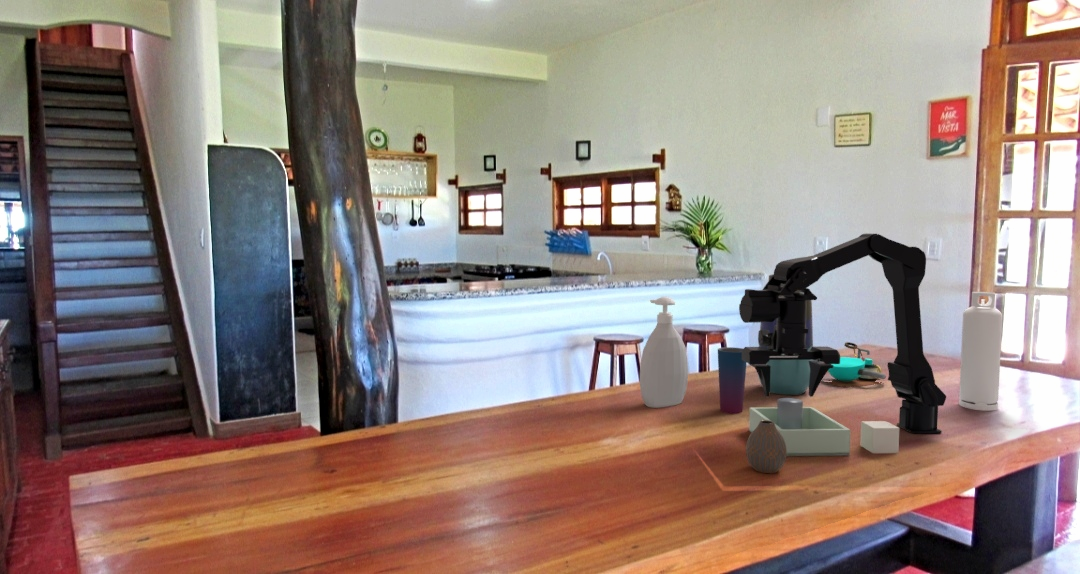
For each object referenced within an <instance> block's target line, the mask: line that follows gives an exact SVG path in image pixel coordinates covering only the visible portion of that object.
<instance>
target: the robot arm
mask: <svg viewBox="0 0 1080 574" xmlns="http://www.w3.org/2000/svg"><path fill="white" fill-rule="evenodd" d="M868 256H869V257H870V258H871V259H872V260H874V261H876V262H878V263H879V264H881V266H882V271H883V274H884V277H885V278H886V281H887V282H888V284H889V285H890V287H891V290H892V298H893V310H894V313H893V314H894V325H895V335H896V336H895V337H896V350H897V354H896V356H895V359H894V361H890V362H889V361H888V362H887V370H888V378H887V380H888V381H890V383H891V386H892V388H894V390H895V392H896V396H897V398H900V399H901V406H900V407H899V413H898V414H899V416H898V417H899V418H898V422H897V423H896V427H898V428H901V429H903V430H904V431H907V432H909V433H911V434H942V431H943V430H941V429H939V428H938V423H939V422H938V419H939V417H938V416H939V407H943V406H944V405H945V403H946V399H947V395H946V394H945V393H944V392H943V391H942V389H941V388H939V386H938V385H937V384H936V380H935V376H934V373H933V367H932V366H931V365H930V363H929V361H928V359H927V358H926V356H925V354H924V345H923V344H924V343H923V331H922V317H921V316H922V315H921V304H920V292H919V291H920V290H919V289H920V286H921V284H922V281H923V280H924V277H925V275H926V267H927V256H926V252H925V251H923V250H922V249H921V248H920V247H917V246H909V245H906V244H903V243H902V242H901V243H900V242H898V241H895V240H892V239H890V238H887V237H885V236H883V235H881V234H880V233H863V234H860V235H859V236H858V237H855V238H853V239H850V240H847V241H845V242H843V243H841V244H838V245H835V246H833V247H831V248H828V249H826V250H823V251H821V252H818V253H816V254H814V255H808V256H802V257H801V256H800V257H795V258H791V259H786V260H782V261H780V262H778V263H777V264H776V265H775V268H774V270H773V274H772V275H773V276H772V277H771V278H770V280H769V279H768V280H767V282H766V284H765V285H764V287H763V288H762V289H752V288H751V289H750V288H748V289H747V288H746V289H744V295H743V296H742V297H741V299H740V303H739V306H738V310H739V316H740V319H741V320H742V322H743V323H745V324H749V323H751V324H752V323H753V324H755V323H757V324H758V323H761V322H773V321H774V320H775V319H776V318H777V325H775V327H774V332H773V333H770V332H769V330H760V329H759V330H758V333H757V334H758V335H757V341H758V346H744V347H743V350H742V360H743V361H745V362H747V363H746V364H748V365H750V366H752V368H754V369H755V371H756V373H757V376H758V375H759V377H758V379H759V378H760V381H761V383H760V384H762V385H761V386H762V390H763V393H764V396H765V397H766V398H769V397H770V393H771V392H770V372H771V366H769V365H767V363H768V362H769V361H770V360H812V361H809V366H810V379H809V387H808V396H809V397H811V398H812V397H814V395H815V393H816V391H817V389H818V387H819V385H820V384H821V382H822V381H821V380H824V379H823V378H824V377H825V375H827V373H828V370H829V369H830V368H833V367H834V366H833V365H831V364H840V357H841V354H840V351H839V350H838V349H835V348H833V347H830V346H813V347H812V348H811V349H810V351H808V349H807V348H805V339H806V333H808V328H806V307H807V300H811V301H817V299H818V296H817V295H815V294H814V293H813V292H812V291H811V289H810V288H809V287H810V286H812V285H813V284H815V283H817V282H818V281H819V280H820V279H821V278H822V277H823V276H824V275H825V274H827V273H829V272H831V271H833V270H837V269H838V268H841V267H843V266H845V265H849V264H851V263H853V262H856V261H857V260H860V259H863V258H865V257H868ZM797 290H801V291H799V292H795V291H797ZM779 295H784V296H781V297H779ZM759 345H760V346H767V350H766V349H764V348H762V347H759ZM773 350H776V351H773ZM781 354H783V355H781ZM797 355H799V356H797ZM760 381H759V382H760Z"/></svg>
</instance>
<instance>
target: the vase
mask: <svg viewBox="0 0 1080 574" xmlns="http://www.w3.org/2000/svg"><path fill="white" fill-rule="evenodd" d="M745 447H746V448H745V449H746V450H745V451H746V453H745V454H746V457H747V462H748V463H749V464H750V466H751V467H752V468H753V469H754V470H755V471H756V472H759V473H763V474H774V473H777V472H778V471H780V469H781V468H783V466H784V465H785V461H786V458H787V456H786V452H787V451H786V444H785V441H784V438H783V437H782V435H781V434H780V432H779V431H778V430H777V428H776V427H775V424H774V422H772V421H768V420H762V421H760V422H759V425H758V426H757V427H756V429H755V430H754V431H753V432H752V433H750V434H749V437H748V439H747V441H746V446H745Z"/></svg>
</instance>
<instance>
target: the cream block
mask: <svg viewBox="0 0 1080 574" xmlns="http://www.w3.org/2000/svg"><path fill="white" fill-rule="evenodd" d="M899 443H900V427H899V426H897V425H894V424H893V423H891V422H888V421H886V420H885V421H884V420H875V421H874V420H873V421H872V420H869V421H868V420H867V421H865V420H864V421H862V420H861V421H860V444H859V445H860V446H861V447H862V448H864V449H866V450H867V451H869V452H870V453H871V454H899V447H900V445H899Z"/></svg>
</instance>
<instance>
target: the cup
mask: <svg viewBox="0 0 1080 574" xmlns="http://www.w3.org/2000/svg"><path fill="white" fill-rule="evenodd" d="M743 349H744V347H743V348H742V347H719V348H717V365H718V367H717V368H718V387H719V389H718V390H719V392H718V393H719V408H720V409H719V410H720V412H722V413H724V414H731V415H735V414H742V413H743V409H744V397H745V383H746V375H747V373H746V372H747V364H748V363H747V362H745V361H743V360H742V350H743Z"/></svg>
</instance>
